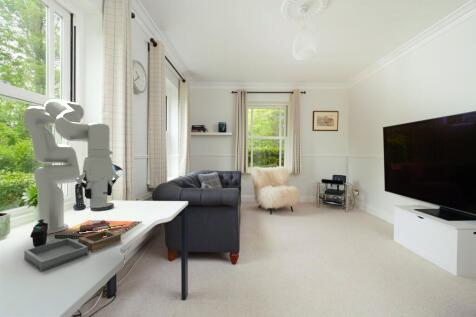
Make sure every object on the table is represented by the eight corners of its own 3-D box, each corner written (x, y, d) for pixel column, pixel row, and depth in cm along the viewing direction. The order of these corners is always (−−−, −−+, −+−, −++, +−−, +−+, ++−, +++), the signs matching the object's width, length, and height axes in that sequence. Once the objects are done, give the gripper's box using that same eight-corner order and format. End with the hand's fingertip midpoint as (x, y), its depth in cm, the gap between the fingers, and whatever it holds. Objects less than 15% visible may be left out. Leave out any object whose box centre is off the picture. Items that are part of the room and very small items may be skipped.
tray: (24, 258, 74) (24, 250, 74) (68, 245, 86) (68, 237, 86) (41, 271, 66) (41, 262, 66) (88, 254, 77) (88, 246, 77)
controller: (49, 240, 90) (49, 217, 90) (44, 251, 80) (44, 225, 80) (35, 243, 88) (35, 219, 88) (29, 254, 78) (28, 227, 78)
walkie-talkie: (76, 237, 95) (126, 228, 107) (76, 227, 95) (126, 219, 107) (77, 231, 102) (123, 223, 114) (77, 222, 102) (123, 215, 114)
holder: (78, 245, 86) (78, 238, 86) (106, 236, 95) (106, 229, 95) (92, 251, 80) (91, 243, 80) (120, 241, 89) (120, 234, 89)
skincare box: (89, 208, 84) (89, 177, 84) (90, 205, 88) (89, 176, 87) (107, 206, 87) (107, 176, 87) (107, 203, 91) (107, 175, 91)
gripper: (115, 153, 96) (115, 192, 97) (69, 153, 81) (69, 199, 82) (124, 154, 92) (124, 194, 93) (78, 153, 78) (78, 202, 78)
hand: (98, 196), depth 87 cm, fingers closed on skincare box, 7 cm apart
